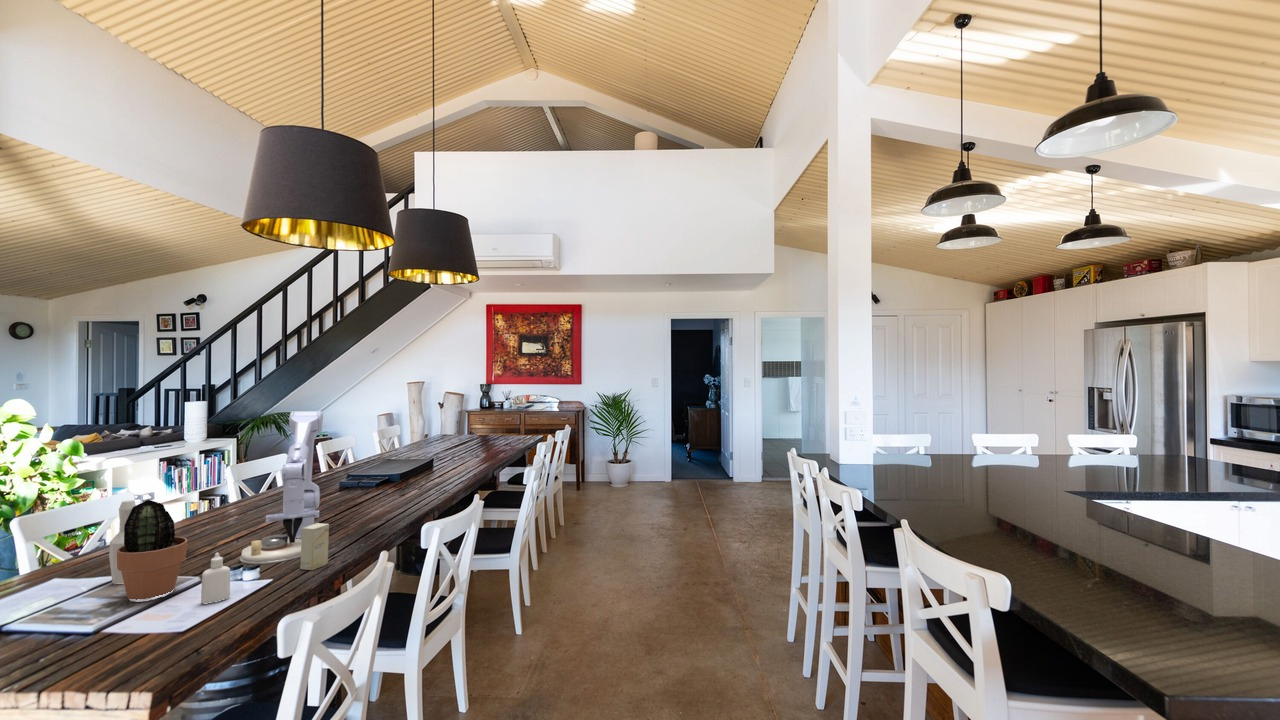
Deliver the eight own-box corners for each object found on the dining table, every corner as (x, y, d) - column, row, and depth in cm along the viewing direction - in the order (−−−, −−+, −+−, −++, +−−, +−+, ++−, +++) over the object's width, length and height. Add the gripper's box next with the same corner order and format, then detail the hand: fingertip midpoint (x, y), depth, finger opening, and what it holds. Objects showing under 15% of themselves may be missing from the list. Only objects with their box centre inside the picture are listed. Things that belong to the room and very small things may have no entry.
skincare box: (312, 570, 160) (313, 529, 160) (299, 569, 161) (300, 528, 161) (328, 563, 166) (329, 523, 166) (316, 562, 167) (317, 522, 167)
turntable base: (244, 549, 177) (244, 547, 177) (312, 541, 187) (312, 540, 187) (234, 568, 161) (234, 566, 161) (309, 558, 170) (309, 556, 170)
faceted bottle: (120, 587, 146) (124, 504, 146) (102, 584, 147) (105, 502, 147) (146, 578, 152) (149, 499, 152) (128, 576, 153) (131, 497, 154)
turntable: (226, 558, 166) (227, 540, 167) (276, 541, 184) (276, 524, 184) (276, 563, 163) (277, 545, 163) (322, 545, 181) (323, 528, 181)
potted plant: (194, 592, 143) (198, 496, 144) (126, 611, 131) (130, 507, 132) (172, 581, 150) (176, 490, 151) (105, 598, 138) (110, 499, 139)
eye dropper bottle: (205, 598, 139) (207, 551, 140) (231, 596, 141) (233, 549, 141) (198, 605, 135) (200, 556, 135) (225, 602, 137) (227, 554, 137)
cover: (255, 550, 170) (255, 540, 170) (273, 543, 177) (273, 533, 177) (275, 551, 169) (276, 541, 169) (292, 544, 176) (293, 535, 176)
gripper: (265, 504, 169) (263, 548, 169) (319, 500, 176) (317, 542, 176) (267, 499, 175) (266, 542, 175) (320, 495, 182) (318, 536, 182)
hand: (292, 542), depth 176 cm, fingers closed
